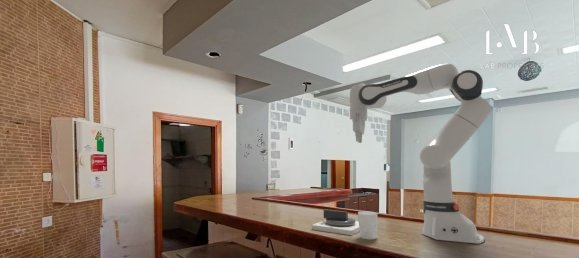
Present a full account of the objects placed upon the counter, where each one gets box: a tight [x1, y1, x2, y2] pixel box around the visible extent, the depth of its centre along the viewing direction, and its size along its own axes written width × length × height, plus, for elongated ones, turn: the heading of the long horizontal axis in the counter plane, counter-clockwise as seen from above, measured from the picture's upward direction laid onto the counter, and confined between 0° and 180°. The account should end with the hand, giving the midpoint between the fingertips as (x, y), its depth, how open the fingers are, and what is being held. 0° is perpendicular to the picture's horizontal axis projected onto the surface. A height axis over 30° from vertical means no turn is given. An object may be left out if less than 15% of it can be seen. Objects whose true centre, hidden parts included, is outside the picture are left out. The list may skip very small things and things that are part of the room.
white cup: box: [357, 210, 378, 240], centre depth 118 cm, size 8×8×10 cm
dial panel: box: [311, 219, 360, 236], centre depth 134 cm, size 20×20×2 cm
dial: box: [323, 208, 356, 226], centre depth 135 cm, size 16×14×6 cm
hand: (358, 142), depth 144 cm, fingers open, 8 cm apart
